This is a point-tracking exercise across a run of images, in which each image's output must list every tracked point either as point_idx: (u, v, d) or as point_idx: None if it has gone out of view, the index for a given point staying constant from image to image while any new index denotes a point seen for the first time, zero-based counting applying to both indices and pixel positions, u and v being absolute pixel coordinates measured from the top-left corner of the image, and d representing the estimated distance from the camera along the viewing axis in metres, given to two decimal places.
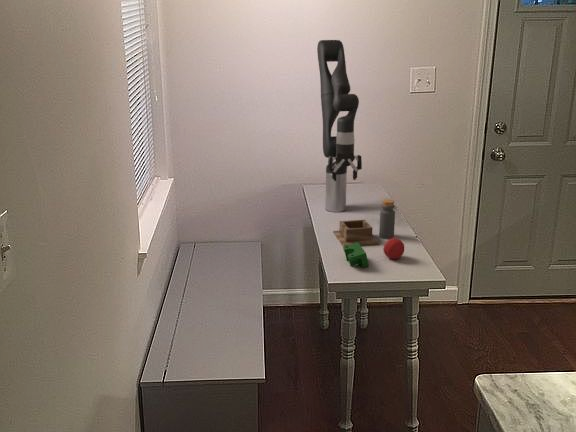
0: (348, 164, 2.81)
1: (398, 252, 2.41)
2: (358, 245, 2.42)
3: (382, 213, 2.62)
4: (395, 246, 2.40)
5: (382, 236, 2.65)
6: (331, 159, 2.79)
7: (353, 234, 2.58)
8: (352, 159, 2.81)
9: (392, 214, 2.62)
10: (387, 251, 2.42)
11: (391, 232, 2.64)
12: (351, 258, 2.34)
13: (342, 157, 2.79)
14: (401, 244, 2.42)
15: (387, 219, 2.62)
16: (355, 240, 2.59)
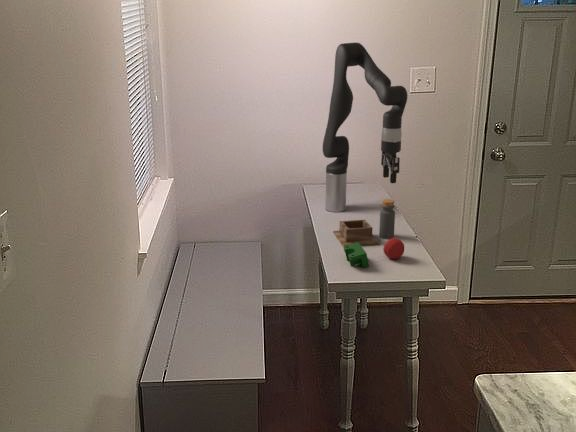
0: None
1: (398, 252, 2.41)
2: (358, 245, 2.42)
3: (382, 213, 2.62)
4: (395, 246, 2.40)
5: (382, 236, 2.65)
6: None
7: (353, 234, 2.58)
8: None
9: (392, 214, 2.62)
10: (387, 251, 2.42)
11: (391, 232, 2.64)
12: (351, 258, 2.34)
13: None
14: (401, 244, 2.42)
15: (387, 219, 2.62)
16: (355, 240, 2.59)
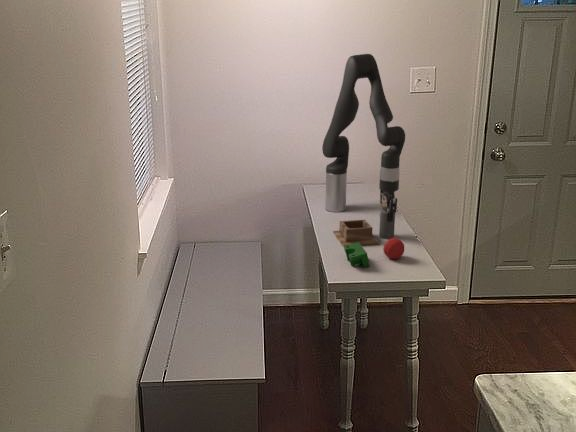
0: None
1: (398, 252, 2.41)
2: (359, 245, 2.42)
3: (382, 213, 2.62)
4: (395, 246, 2.40)
5: (382, 236, 2.65)
6: None
7: (353, 234, 2.58)
8: None
9: None
10: (387, 251, 2.42)
11: (391, 232, 2.64)
12: (352, 258, 2.34)
13: None
14: (401, 244, 2.42)
15: None
16: (355, 240, 2.59)
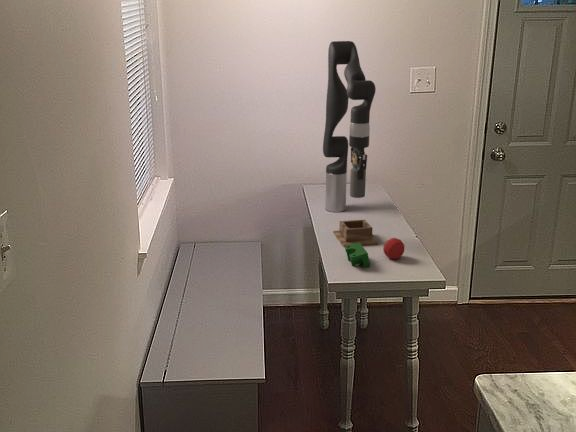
0: None
1: (398, 252, 2.41)
2: (360, 245, 2.42)
3: (352, 171, 2.54)
4: (395, 246, 2.40)
5: (353, 195, 2.57)
6: None
7: (353, 234, 2.58)
8: None
9: None
10: (387, 252, 2.42)
11: (362, 191, 2.56)
12: (353, 258, 2.34)
13: None
14: (401, 244, 2.42)
15: None
16: (355, 240, 2.59)
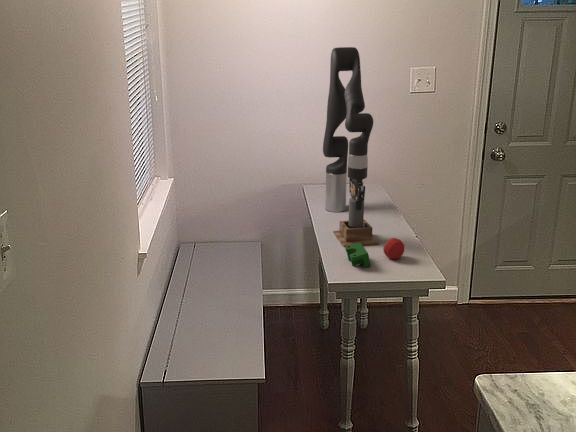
0: None
1: (398, 252, 2.41)
2: (360, 245, 2.42)
3: (351, 201, 2.58)
4: (395, 246, 2.40)
5: (351, 225, 2.61)
6: None
7: (353, 234, 2.58)
8: None
9: None
10: (387, 251, 2.42)
11: (360, 221, 2.60)
12: (353, 258, 2.34)
13: None
14: (401, 244, 2.42)
15: (355, 208, 2.58)
16: (355, 240, 2.59)
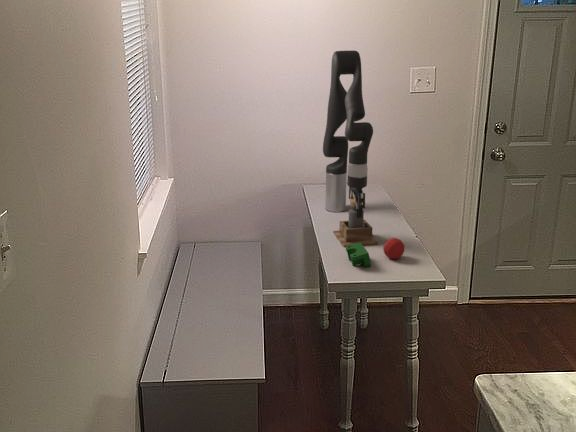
0: None
1: (398, 252, 2.41)
2: (360, 245, 2.42)
3: (350, 213, 2.60)
4: (395, 246, 2.40)
5: None
6: None
7: (353, 234, 2.58)
8: None
9: None
10: (387, 251, 2.42)
11: None
12: (353, 258, 2.35)
13: None
14: (401, 244, 2.42)
15: (355, 219, 2.59)
16: (355, 240, 2.59)
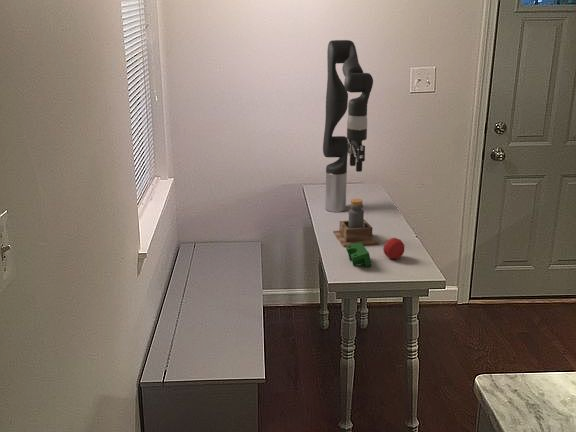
0: None
1: (398, 252, 2.41)
2: (361, 245, 2.42)
3: (350, 213, 2.59)
4: (395, 246, 2.40)
5: None
6: None
7: (353, 234, 2.58)
8: None
9: (360, 214, 2.59)
10: (387, 251, 2.42)
11: None
12: (354, 258, 2.35)
13: None
14: (401, 244, 2.42)
15: (355, 219, 2.59)
16: (355, 240, 2.59)
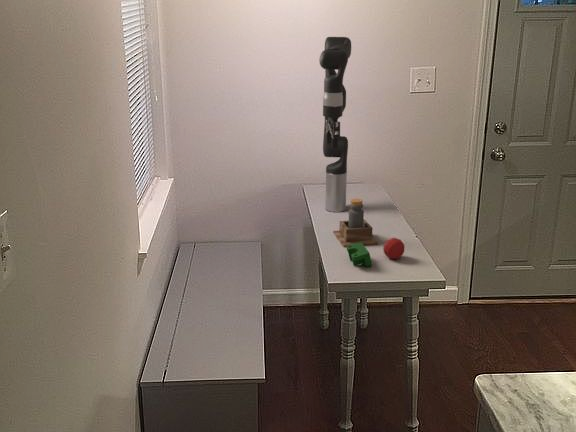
0: None
1: (398, 252, 2.41)
2: (361, 245, 2.42)
3: (350, 213, 2.60)
4: (395, 246, 2.40)
5: None
6: None
7: (353, 234, 2.58)
8: None
9: (360, 214, 2.59)
10: (387, 251, 2.42)
11: None
12: (354, 258, 2.35)
13: None
14: (401, 244, 2.42)
15: (355, 219, 2.59)
16: (355, 240, 2.59)
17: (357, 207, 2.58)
